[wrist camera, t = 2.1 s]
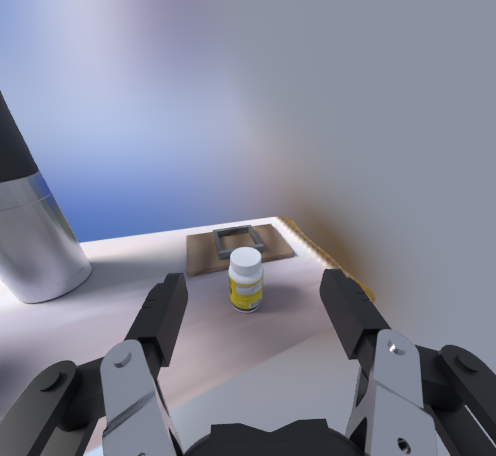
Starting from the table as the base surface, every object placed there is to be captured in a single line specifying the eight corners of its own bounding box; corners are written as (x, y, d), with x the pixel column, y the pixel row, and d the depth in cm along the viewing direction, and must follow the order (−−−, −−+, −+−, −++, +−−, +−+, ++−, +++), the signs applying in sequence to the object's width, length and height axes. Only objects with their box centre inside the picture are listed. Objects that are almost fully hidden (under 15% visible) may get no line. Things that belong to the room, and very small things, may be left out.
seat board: (188, 276, 32) (185, 265, 31) (187, 239, 42) (185, 229, 41) (293, 256, 37) (295, 246, 36) (270, 227, 47) (271, 218, 46)
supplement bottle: (233, 286, 31) (231, 243, 27) (262, 289, 30) (265, 246, 26) (227, 312, 27) (223, 266, 22) (260, 316, 26) (263, 270, 22)
